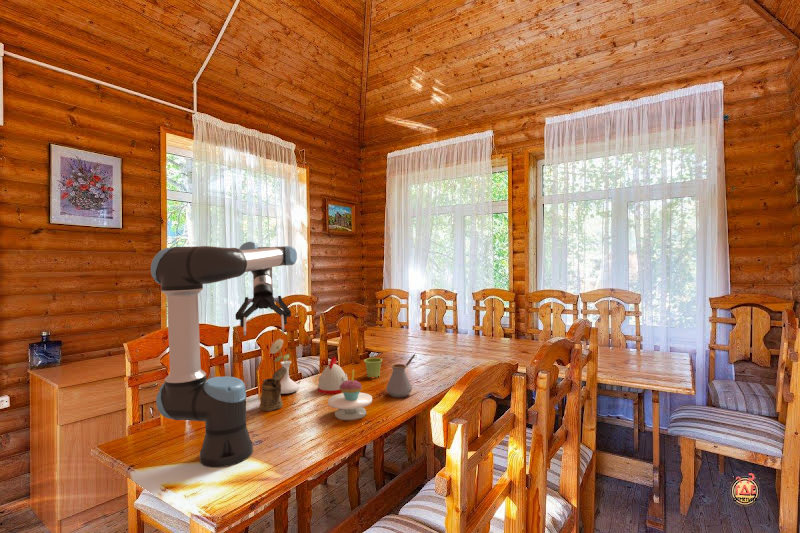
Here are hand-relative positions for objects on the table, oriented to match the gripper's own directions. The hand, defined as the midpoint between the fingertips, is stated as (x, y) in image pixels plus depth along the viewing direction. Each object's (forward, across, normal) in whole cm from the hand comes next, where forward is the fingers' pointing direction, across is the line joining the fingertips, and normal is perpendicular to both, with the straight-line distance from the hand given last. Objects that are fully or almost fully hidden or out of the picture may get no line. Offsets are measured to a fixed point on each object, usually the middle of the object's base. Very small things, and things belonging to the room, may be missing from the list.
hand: (264, 331), depth 154 cm
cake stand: (+27, -31, -21) cm, 46 cm away
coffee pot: (+14, -60, -34) cm, 70 cm away
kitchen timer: (+2, -30, -46) cm, 55 cm away
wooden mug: (+14, -3, -34) cm, 37 cm away
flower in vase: (0, -9, -48) cm, 49 cm away
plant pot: (-7, -53, -55) cm, 77 cm away
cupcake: (+23, -31, -17) cm, 42 cm away
